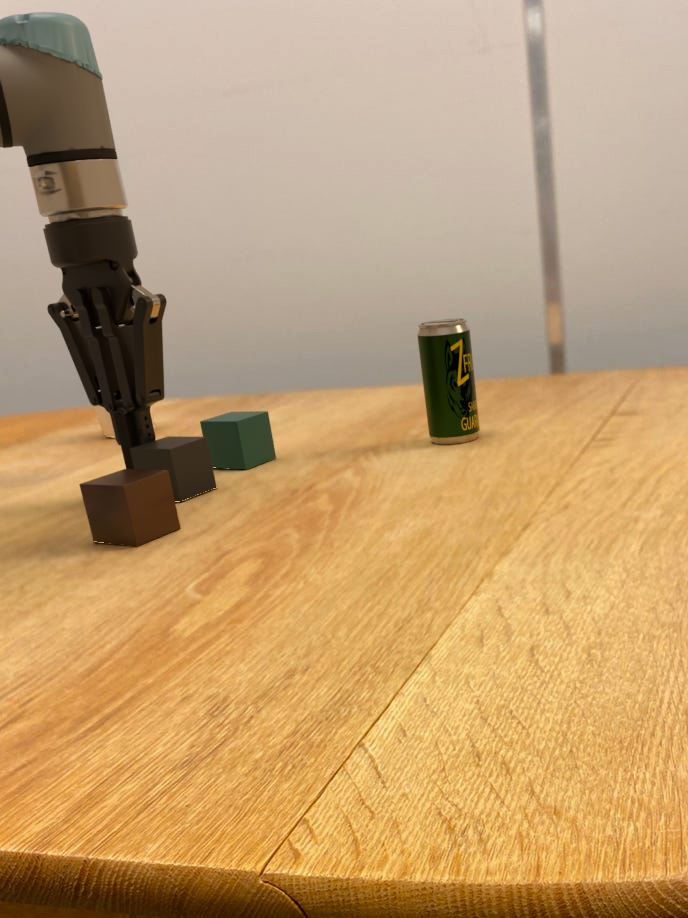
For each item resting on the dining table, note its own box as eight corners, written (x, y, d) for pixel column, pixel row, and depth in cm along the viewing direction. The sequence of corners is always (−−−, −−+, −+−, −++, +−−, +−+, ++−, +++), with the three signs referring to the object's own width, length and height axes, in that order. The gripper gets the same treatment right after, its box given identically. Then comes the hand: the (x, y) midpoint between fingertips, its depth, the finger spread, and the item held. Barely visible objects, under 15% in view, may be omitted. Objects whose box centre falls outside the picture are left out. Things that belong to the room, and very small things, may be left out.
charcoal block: (141, 500, 100) (129, 448, 98) (178, 486, 104) (167, 436, 102) (180, 502, 98) (169, 449, 96) (217, 488, 102) (206, 436, 100)
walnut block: (93, 543, 87) (79, 483, 86) (138, 525, 91) (124, 468, 90) (137, 546, 85) (123, 485, 83) (180, 528, 89) (168, 469, 87)
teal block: (209, 469, 111) (199, 421, 109) (240, 457, 115) (231, 411, 113) (245, 470, 108) (236, 421, 107) (276, 458, 112) (268, 411, 111)
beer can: (421, 445, 111) (407, 327, 106) (441, 434, 115) (428, 320, 111) (469, 444, 109) (456, 323, 104) (487, 433, 113) (476, 316, 109)
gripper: (1, 226, 94) (67, 486, 103) (106, 212, 88) (167, 490, 97) (67, 220, 100) (124, 467, 109) (170, 207, 94) (221, 469, 103)
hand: (144, 478), depth 103 cm, fingers closed
